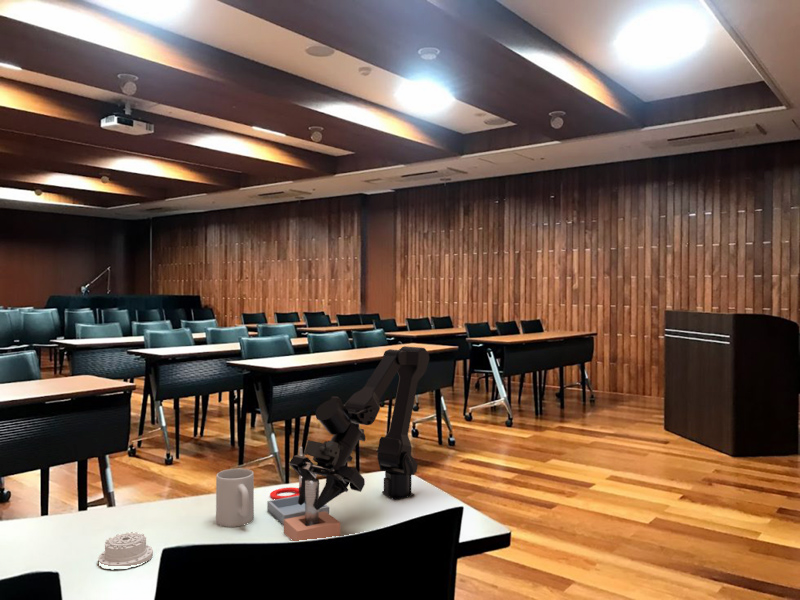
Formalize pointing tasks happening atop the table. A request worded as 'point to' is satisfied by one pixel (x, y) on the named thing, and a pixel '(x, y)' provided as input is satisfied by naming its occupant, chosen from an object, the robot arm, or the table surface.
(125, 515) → the table surface
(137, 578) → the table surface
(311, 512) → the pin
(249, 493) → the mug
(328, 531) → the block
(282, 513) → the tray
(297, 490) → the tow hook
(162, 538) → the table surface
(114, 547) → the mechanical component
